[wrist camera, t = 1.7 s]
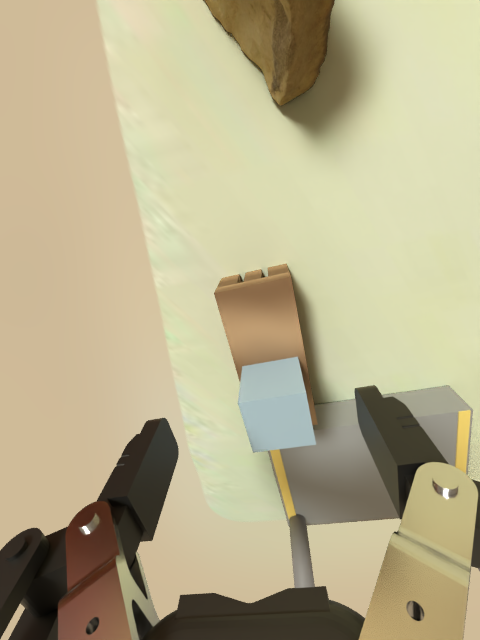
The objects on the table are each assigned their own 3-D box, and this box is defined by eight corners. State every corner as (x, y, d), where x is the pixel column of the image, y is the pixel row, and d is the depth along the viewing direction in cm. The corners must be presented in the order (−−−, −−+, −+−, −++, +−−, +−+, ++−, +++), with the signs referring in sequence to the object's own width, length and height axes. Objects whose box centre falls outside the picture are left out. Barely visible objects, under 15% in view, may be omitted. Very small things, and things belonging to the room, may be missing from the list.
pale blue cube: (242, 366, 20) (237, 403, 17) (297, 356, 20) (305, 392, 16) (254, 409, 22) (253, 452, 18) (306, 402, 21) (316, 444, 18)
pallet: (222, 277, 22) (214, 293, 18) (286, 263, 21) (291, 276, 18) (255, 400, 26) (254, 432, 23) (309, 392, 26) (317, 424, 22)
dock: (448, 385, 24) (546, 483, 16) (444, 482, 28) (519, 598, 20) (263, 412, 27) (264, 508, 18) (286, 497, 31) (295, 606, 23)
